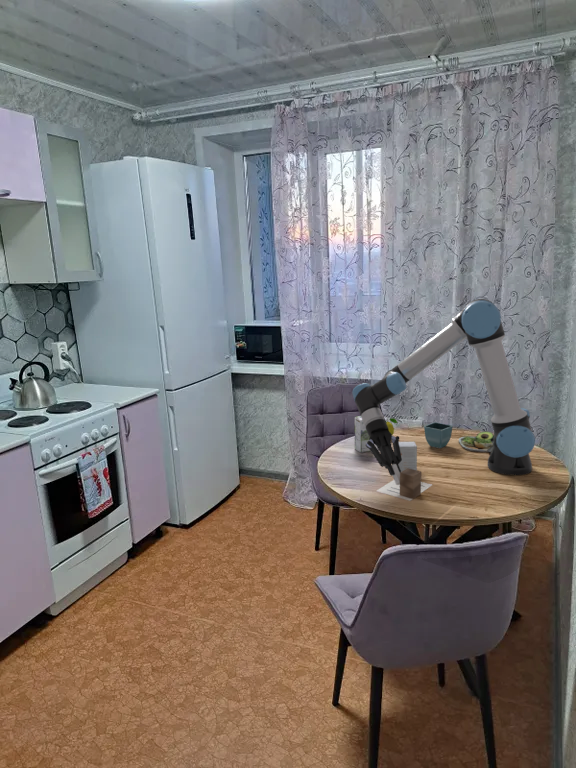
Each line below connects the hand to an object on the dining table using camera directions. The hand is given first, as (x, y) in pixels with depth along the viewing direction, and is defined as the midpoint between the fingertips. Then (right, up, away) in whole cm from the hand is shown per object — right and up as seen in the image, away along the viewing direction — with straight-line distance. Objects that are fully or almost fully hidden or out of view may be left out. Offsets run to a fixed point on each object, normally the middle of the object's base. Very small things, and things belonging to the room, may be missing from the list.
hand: (399, 483), depth 172 cm
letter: (+2, -3, +4) cm, 5 cm away
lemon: (+7, +9, +58) cm, 59 cm away
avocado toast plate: (+44, +7, +43) cm, 62 cm away
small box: (+6, +1, +20) cm, 21 cm away
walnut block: (+3, -3, -2) cm, 5 cm away
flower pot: (+26, +7, +44) cm, 52 cm away
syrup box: (-6, +5, +43) cm, 44 cm away
